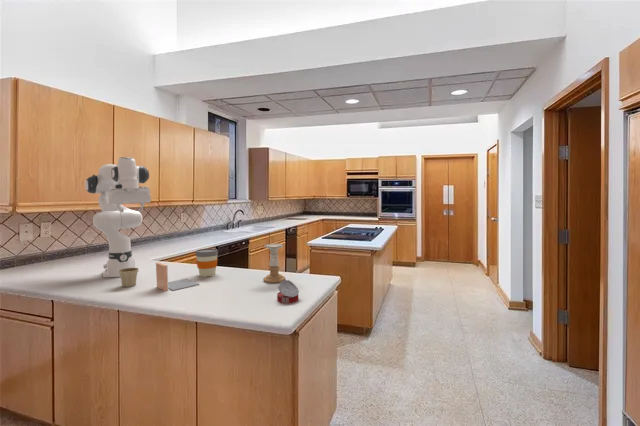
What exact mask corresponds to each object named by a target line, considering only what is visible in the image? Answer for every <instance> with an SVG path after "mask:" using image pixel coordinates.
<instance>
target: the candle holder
mask: <svg viewBox="0 0 640 426" xmlns="http://www.w3.org/2000/svg"><path fill="white" fill-rule="evenodd" d="M283 247H284V244H282V243H267V244H264V248H266V249H268V250H269V251H270V254H269V257H270V259H269V263H268V265H269V266H270V267H269V268H268V269H269V274H267V275H266V276H264V277H263V279H262V280H263V282H264V283H267V284H280V283H281V282H282V281H284V280H286V277H285V276H284V275H282V274H281V273H279V270H280V266H279V265H280V262H279V260H278V257H279V254H278V251H279V249H281V248H283Z"/></svg>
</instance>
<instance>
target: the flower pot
mask: <svg viewBox="0 0 640 426" xmlns="http://www.w3.org/2000/svg"><path fill="white" fill-rule="evenodd" d="M138 270H139V271H140V269H139V267H136V268H125V269H121V270H119V271H118V272H119V274H120V276H121V277H120V281H121V285H122V287H123V288H125V287H126V288H130V287H131V288H132V287H133V286H136V285H137V276H138V273H139V271H138Z"/></svg>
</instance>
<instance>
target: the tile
mask: <svg viewBox="0 0 640 426" xmlns="http://www.w3.org/2000/svg"><path fill="white" fill-rule="evenodd" d="M168 266H169V265H168V264H165V263H162V262H160V261H159V262H155V272H156V273H155V275H156V287H157V288H158V289H159V290H161V291H163V292H167V291H169V289H168V282H169V274H168V273H169V272H168V271H169V270H168V269H169V268H168Z"/></svg>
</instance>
